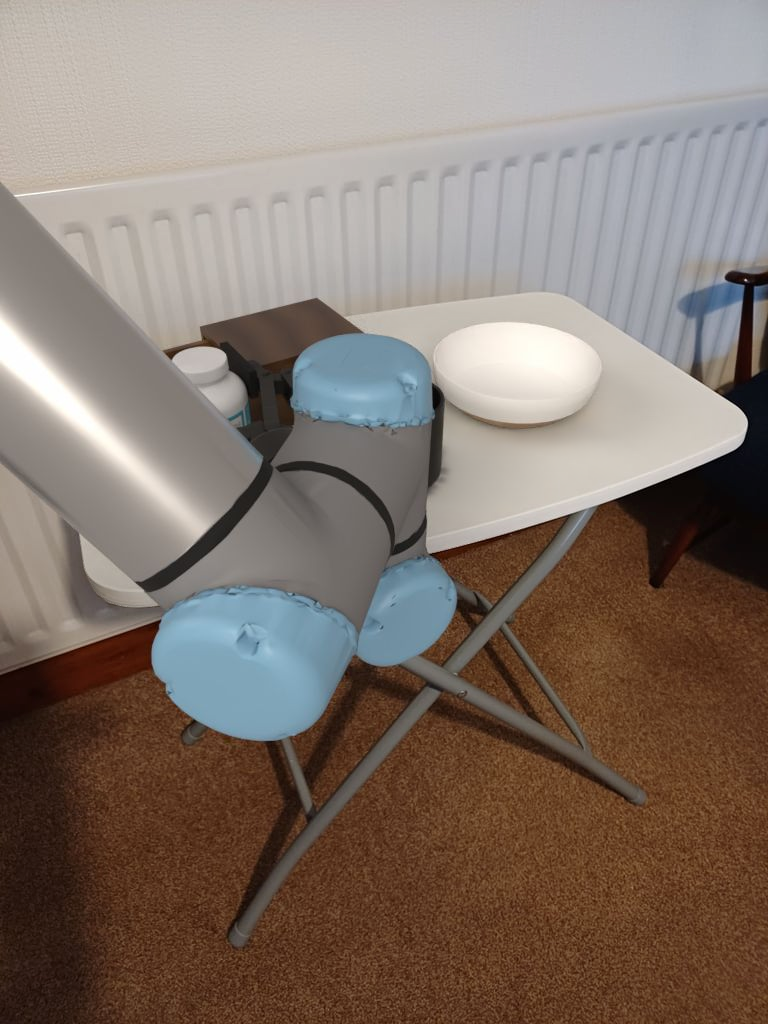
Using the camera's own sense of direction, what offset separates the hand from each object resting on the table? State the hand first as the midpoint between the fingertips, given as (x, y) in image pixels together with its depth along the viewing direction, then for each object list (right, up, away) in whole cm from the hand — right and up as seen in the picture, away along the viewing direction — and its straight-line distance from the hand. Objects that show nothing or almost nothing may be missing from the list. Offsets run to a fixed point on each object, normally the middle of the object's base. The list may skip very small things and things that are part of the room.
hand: (183, 366), depth 72 cm
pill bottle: (+2, -11, +3) cm, 12 cm away
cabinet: (+7, +1, +24) cm, 25 cm away
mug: (+21, -9, +13) cm, 26 cm away
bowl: (+34, 0, +23) cm, 41 cm away
